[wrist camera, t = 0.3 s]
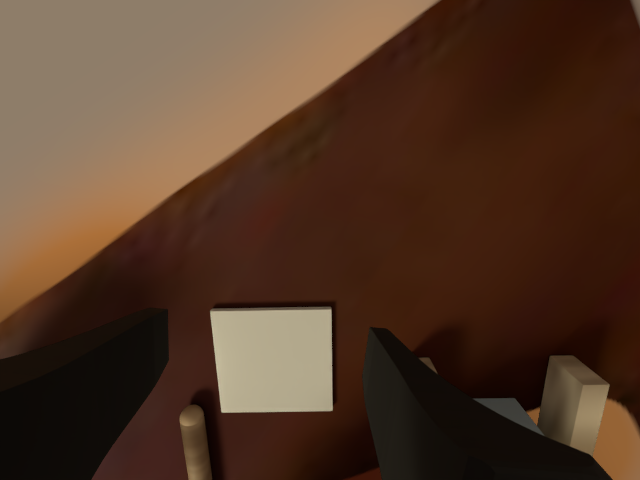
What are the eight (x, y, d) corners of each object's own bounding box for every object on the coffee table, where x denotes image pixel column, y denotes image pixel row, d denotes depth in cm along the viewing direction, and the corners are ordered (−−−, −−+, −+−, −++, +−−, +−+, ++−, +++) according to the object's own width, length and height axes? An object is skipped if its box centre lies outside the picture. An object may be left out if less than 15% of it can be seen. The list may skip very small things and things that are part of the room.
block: (503, 462, 25) (546, 535, 21) (445, 463, 25) (474, 535, 21) (513, 397, 24) (563, 459, 19) (452, 397, 24) (485, 460, 19)
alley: (548, 478, 26) (577, 520, 23) (399, 480, 26) (409, 522, 23) (572, 355, 23) (609, 384, 20) (406, 357, 23) (418, 387, 20)
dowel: (220, 519, 27) (214, 541, 25) (201, 519, 27) (194, 541, 25) (205, 399, 24) (197, 416, 22) (183, 399, 24) (174, 416, 22)
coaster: (332, 406, 24) (332, 411, 24) (223, 408, 24) (221, 412, 24) (331, 306, 22) (331, 309, 22) (212, 308, 22) (210, 311, 22)
